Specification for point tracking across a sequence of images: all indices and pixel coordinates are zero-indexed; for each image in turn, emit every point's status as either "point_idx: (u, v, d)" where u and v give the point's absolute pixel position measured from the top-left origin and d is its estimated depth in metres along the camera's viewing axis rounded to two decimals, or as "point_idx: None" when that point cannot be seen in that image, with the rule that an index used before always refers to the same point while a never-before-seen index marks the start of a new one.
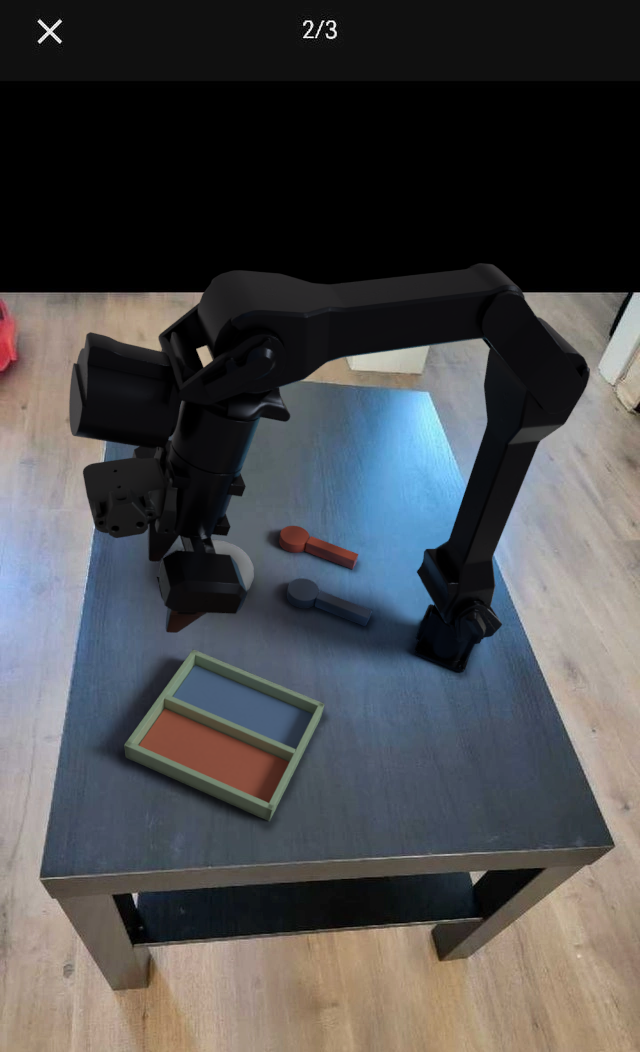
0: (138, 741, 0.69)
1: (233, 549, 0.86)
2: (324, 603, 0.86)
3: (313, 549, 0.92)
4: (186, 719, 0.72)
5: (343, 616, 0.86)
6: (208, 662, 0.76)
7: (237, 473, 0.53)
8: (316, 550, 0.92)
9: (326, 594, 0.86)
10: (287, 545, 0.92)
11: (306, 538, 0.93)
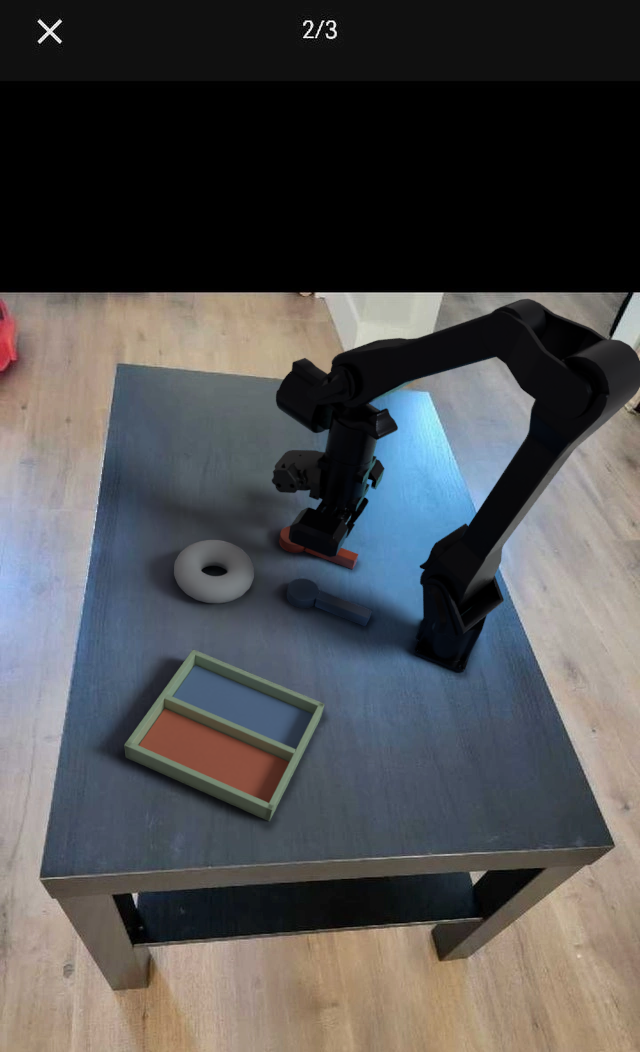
0: (138, 741, 0.69)
1: (233, 549, 0.86)
2: (324, 603, 0.86)
3: None
4: (186, 719, 0.72)
5: (343, 616, 0.86)
6: (208, 662, 0.76)
7: (359, 467, 0.79)
8: None
9: (326, 594, 0.86)
10: (287, 545, 0.92)
11: None
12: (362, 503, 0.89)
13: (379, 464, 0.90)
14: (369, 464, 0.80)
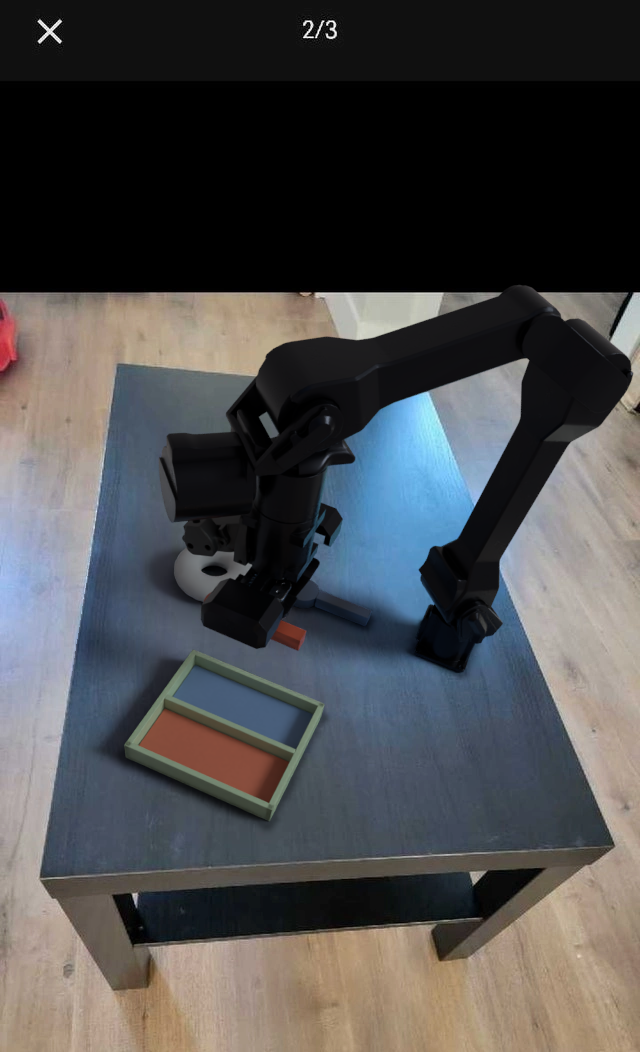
0: (138, 741, 0.69)
1: None
2: (324, 603, 0.86)
3: None
4: (186, 719, 0.72)
5: (343, 616, 0.86)
6: (208, 662, 0.76)
7: (298, 525, 0.57)
8: None
9: (326, 594, 0.86)
10: None
11: None
12: (311, 566, 0.66)
13: (335, 514, 0.67)
14: (313, 521, 0.58)
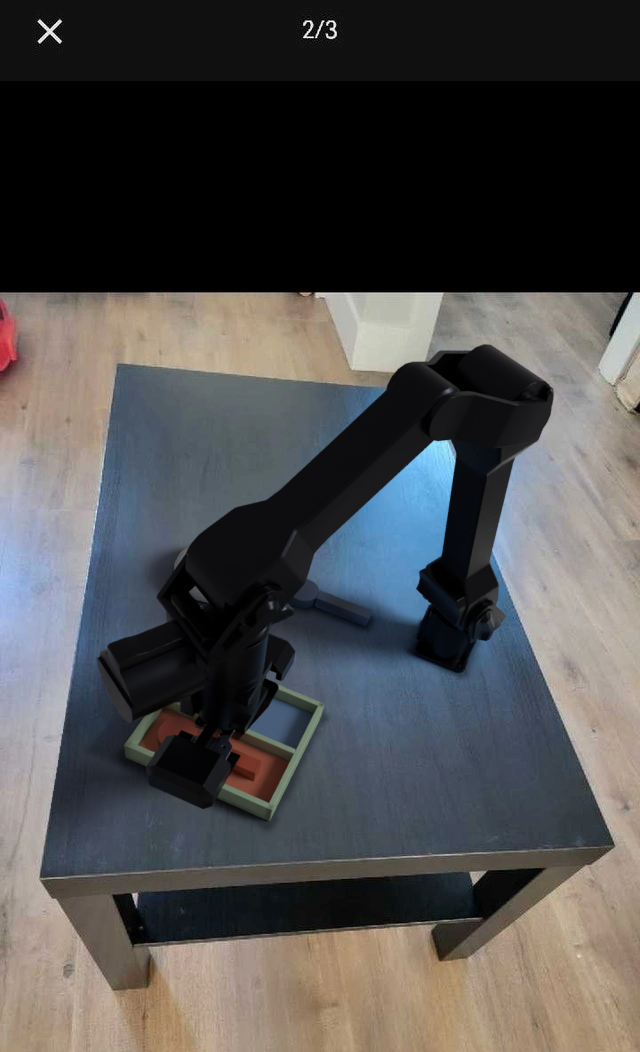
0: (138, 741, 0.69)
1: None
2: (324, 603, 0.86)
3: None
4: None
5: (343, 616, 0.86)
6: None
7: (241, 687, 0.56)
8: None
9: (326, 594, 0.86)
10: None
11: None
12: (269, 692, 0.66)
13: (287, 647, 0.67)
14: (258, 679, 0.57)
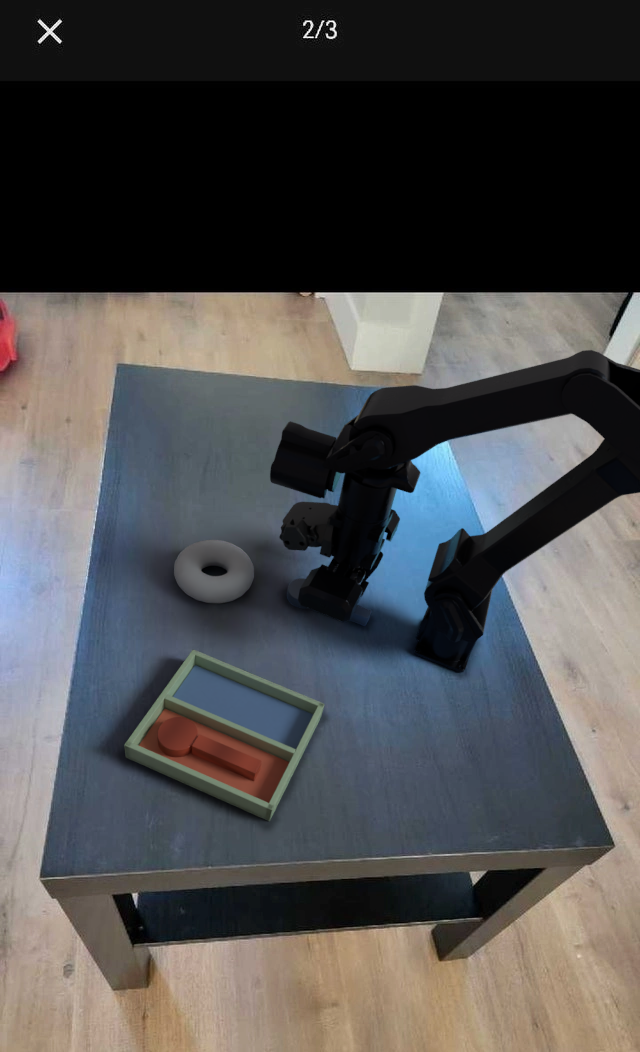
0: (138, 741, 0.69)
1: (233, 549, 0.86)
2: None
3: (201, 754, 0.69)
4: None
5: None
6: (208, 662, 0.76)
7: (375, 525, 0.73)
8: (205, 755, 0.69)
9: None
10: (166, 749, 0.68)
11: (192, 737, 0.69)
12: (376, 557, 0.82)
13: (394, 515, 0.84)
14: (386, 521, 0.74)
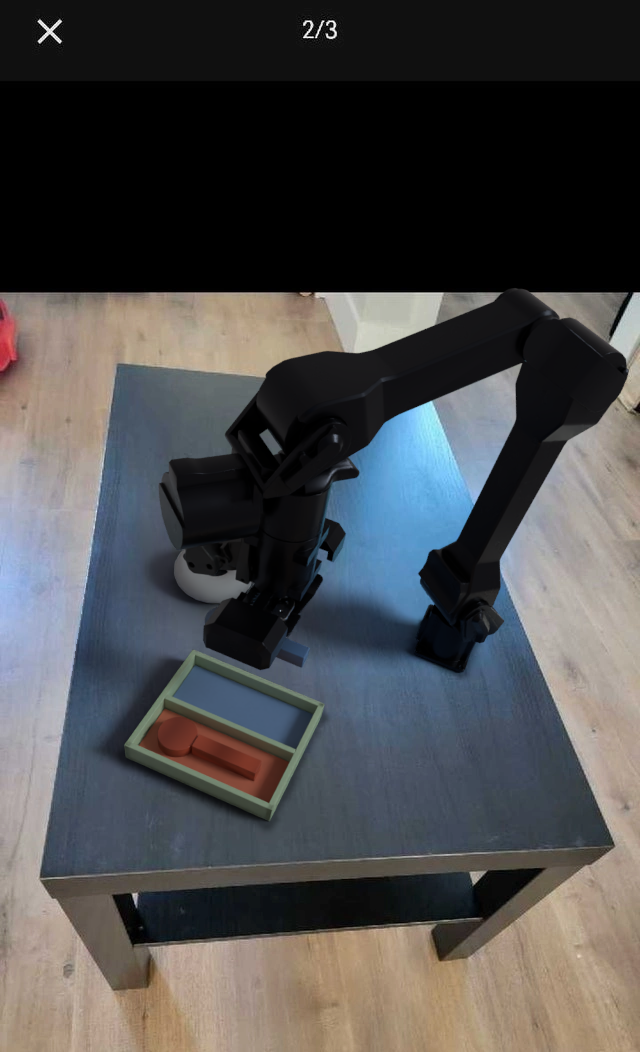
0: (138, 741, 0.69)
1: None
2: None
3: (201, 754, 0.69)
4: None
5: None
6: (208, 662, 0.76)
7: (301, 544, 0.55)
8: (205, 755, 0.69)
9: None
10: (166, 749, 0.68)
11: (192, 737, 0.69)
12: (314, 583, 0.65)
13: (338, 528, 0.66)
14: (317, 539, 0.56)
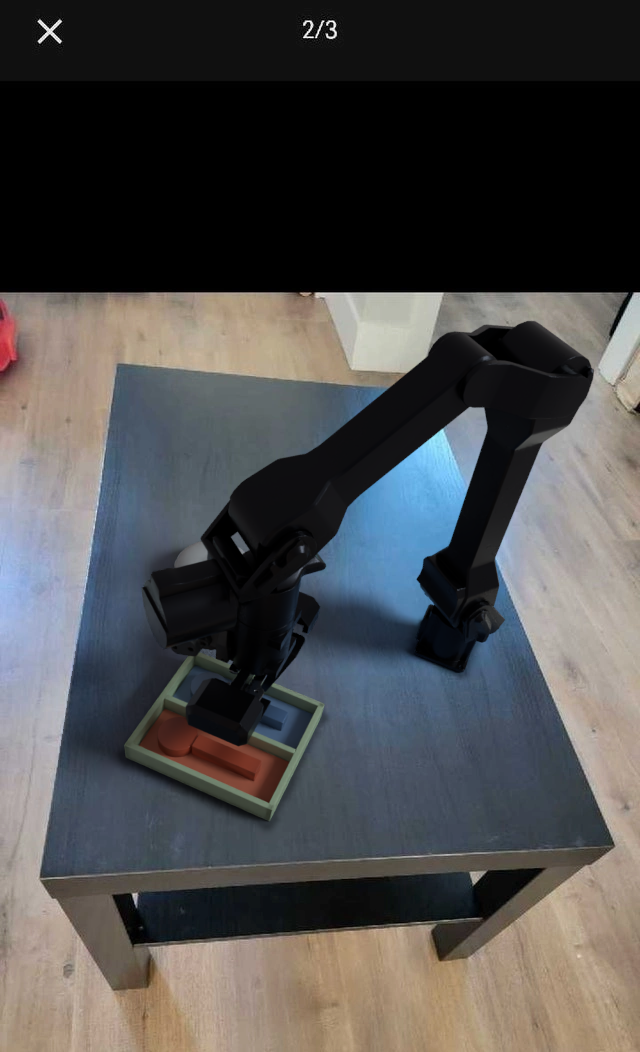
0: (138, 741, 0.69)
1: None
2: None
3: (201, 754, 0.69)
4: None
5: None
6: (208, 662, 0.76)
7: (274, 631, 0.60)
8: (205, 755, 0.69)
9: None
10: (166, 749, 0.68)
11: (192, 737, 0.69)
12: (297, 644, 0.71)
13: (313, 603, 0.71)
14: (289, 625, 0.61)
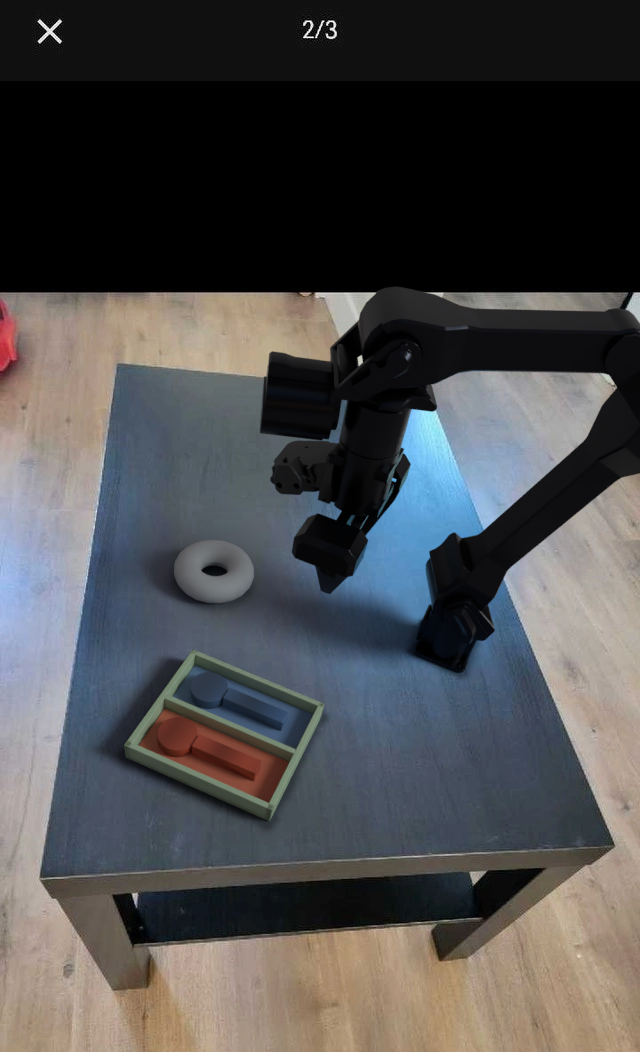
0: (138, 741, 0.69)
1: (233, 549, 0.86)
2: (232, 704, 0.73)
3: (201, 754, 0.69)
4: None
5: (255, 718, 0.73)
6: (208, 662, 0.76)
7: (383, 461, 0.61)
8: (205, 755, 0.69)
9: (235, 692, 0.73)
10: (166, 749, 0.68)
11: (192, 737, 0.69)
12: (394, 489, 0.73)
13: (404, 459, 0.72)
14: (396, 458, 0.62)
